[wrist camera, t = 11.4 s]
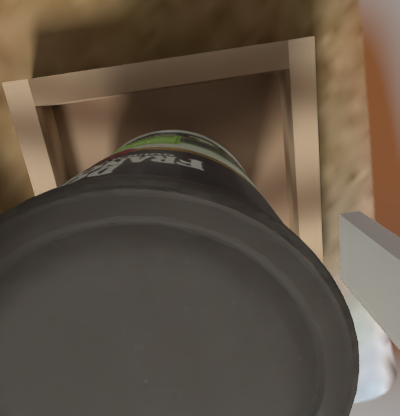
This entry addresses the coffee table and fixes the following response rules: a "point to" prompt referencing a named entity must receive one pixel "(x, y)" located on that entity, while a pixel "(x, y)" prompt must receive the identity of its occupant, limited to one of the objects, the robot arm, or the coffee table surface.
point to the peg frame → (186, 119)
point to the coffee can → (167, 295)
